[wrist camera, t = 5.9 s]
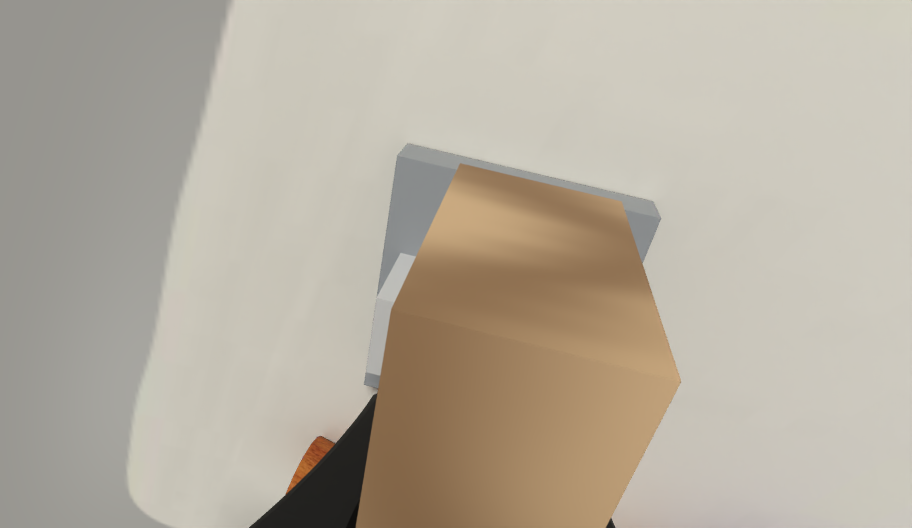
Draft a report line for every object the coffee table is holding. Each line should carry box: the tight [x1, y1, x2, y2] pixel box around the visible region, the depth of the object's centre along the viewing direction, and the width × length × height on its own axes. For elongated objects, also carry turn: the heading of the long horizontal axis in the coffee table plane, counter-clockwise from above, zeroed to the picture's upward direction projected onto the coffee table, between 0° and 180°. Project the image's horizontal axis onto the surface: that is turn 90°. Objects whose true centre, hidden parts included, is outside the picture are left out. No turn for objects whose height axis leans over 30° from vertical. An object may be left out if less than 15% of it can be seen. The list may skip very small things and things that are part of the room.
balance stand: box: [364, 144, 661, 388], centre depth 15 cm, size 7×8×4 cm
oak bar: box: [356, 163, 681, 528], centre depth 10 cm, size 3×11×5 cm, turn 169°
